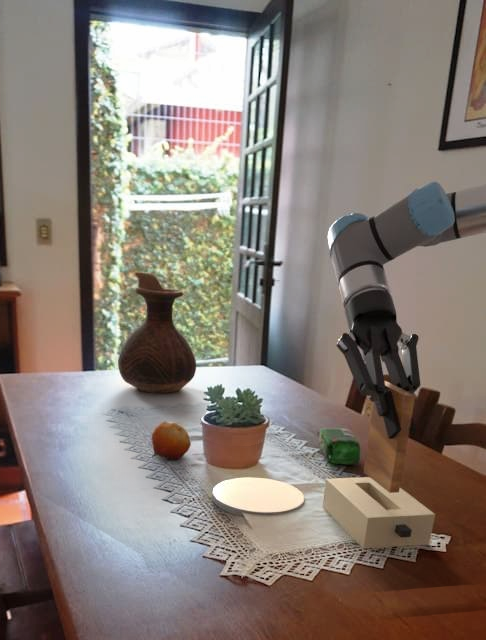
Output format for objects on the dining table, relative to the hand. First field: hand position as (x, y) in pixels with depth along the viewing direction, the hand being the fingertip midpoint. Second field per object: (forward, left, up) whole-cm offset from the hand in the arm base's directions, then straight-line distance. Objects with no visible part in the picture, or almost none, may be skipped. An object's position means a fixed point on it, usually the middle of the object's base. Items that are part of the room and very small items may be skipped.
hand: (402, 433), depth 100 cm
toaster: (0, -4, -17) cm, 18 cm away
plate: (+15, -18, -17) cm, 29 cm away
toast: (0, -4, -9) cm, 10 cm away
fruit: (+26, -42, -18) cm, 52 cm away
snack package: (-9, -39, -18) cm, 44 cm away
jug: (+19, -100, -18) cm, 103 cm away
